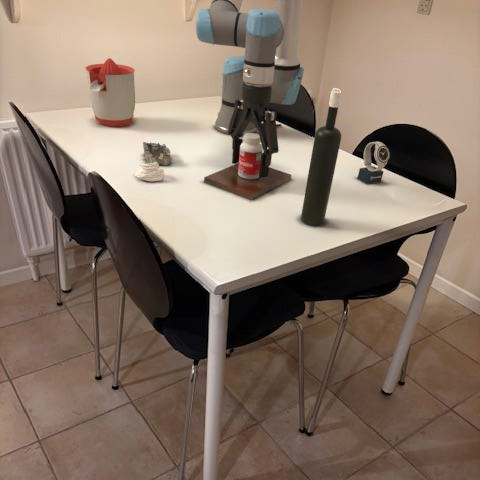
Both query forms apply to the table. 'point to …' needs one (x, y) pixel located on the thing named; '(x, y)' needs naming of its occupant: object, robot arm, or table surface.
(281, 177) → the walnut board
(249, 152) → the pill bottle
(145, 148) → the egg carton
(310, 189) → the wine bottle
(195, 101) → the table surface
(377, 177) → the watch
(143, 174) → the cream folded ring
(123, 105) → the citrus juicer
